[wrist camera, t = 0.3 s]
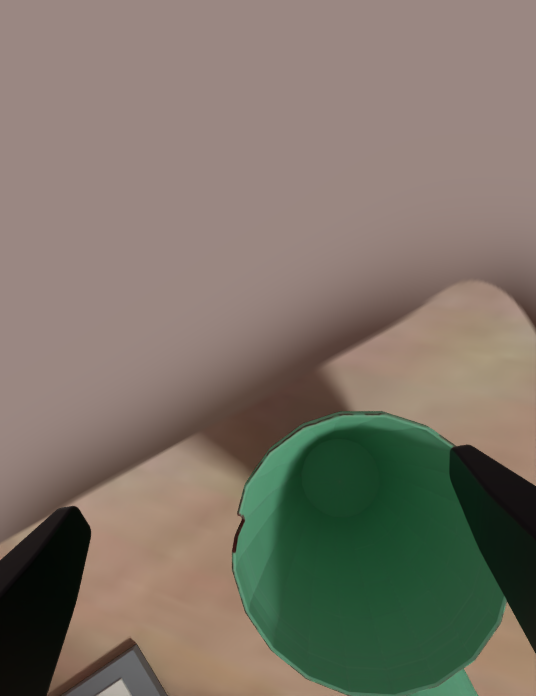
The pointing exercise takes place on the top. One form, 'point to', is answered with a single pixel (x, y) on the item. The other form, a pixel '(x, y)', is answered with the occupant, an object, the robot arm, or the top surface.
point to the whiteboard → (121, 678)
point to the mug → (365, 559)
